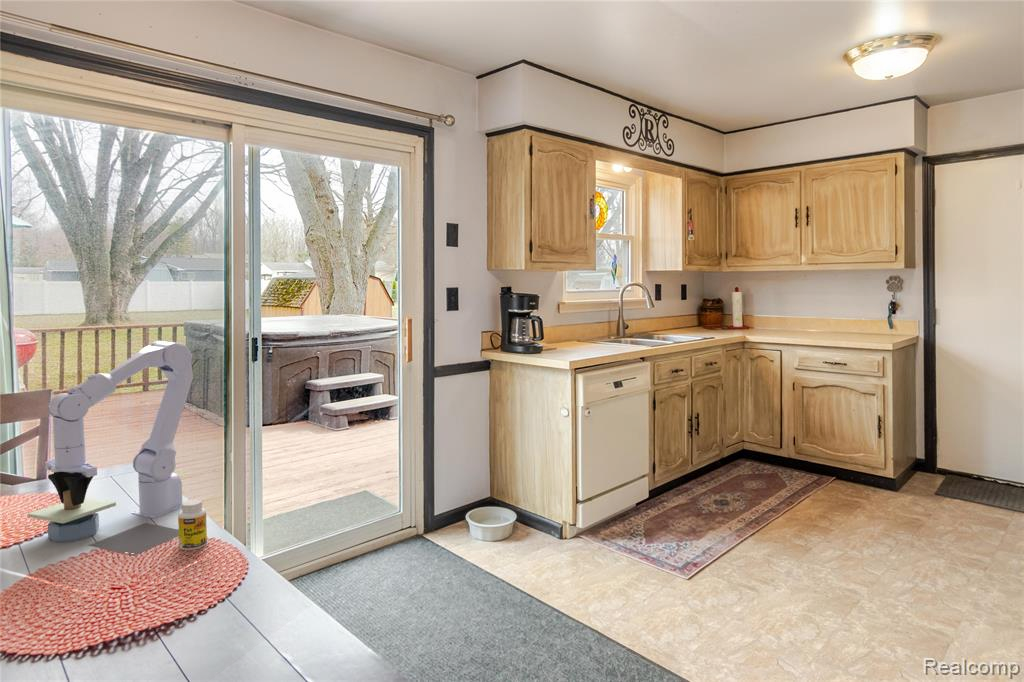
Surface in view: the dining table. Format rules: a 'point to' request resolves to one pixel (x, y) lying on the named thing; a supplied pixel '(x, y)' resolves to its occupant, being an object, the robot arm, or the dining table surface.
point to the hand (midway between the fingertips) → (72, 503)
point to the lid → (71, 509)
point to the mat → (138, 539)
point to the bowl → (73, 529)
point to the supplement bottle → (192, 525)
